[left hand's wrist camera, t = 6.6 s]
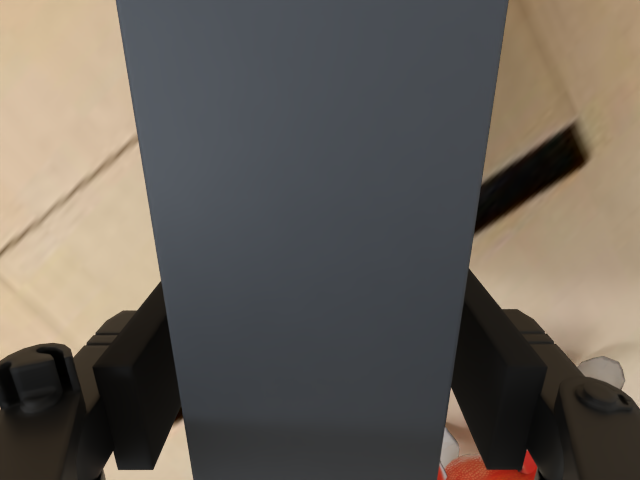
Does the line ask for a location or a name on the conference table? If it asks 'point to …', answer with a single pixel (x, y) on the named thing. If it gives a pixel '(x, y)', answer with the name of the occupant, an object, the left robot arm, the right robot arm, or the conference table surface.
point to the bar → (313, 221)
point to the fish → (472, 476)
